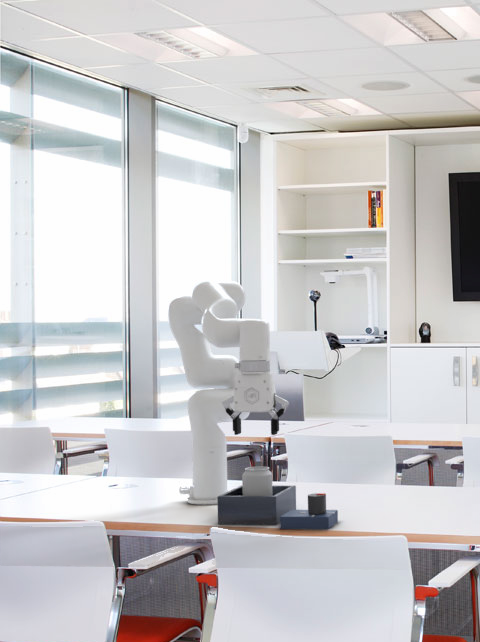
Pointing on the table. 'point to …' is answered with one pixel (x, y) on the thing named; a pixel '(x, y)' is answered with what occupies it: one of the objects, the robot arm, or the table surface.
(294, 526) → the panel
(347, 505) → the table surface
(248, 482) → the can
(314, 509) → the tap knob
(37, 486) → the table surface
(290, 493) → the open storage bin
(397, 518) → the table surface
